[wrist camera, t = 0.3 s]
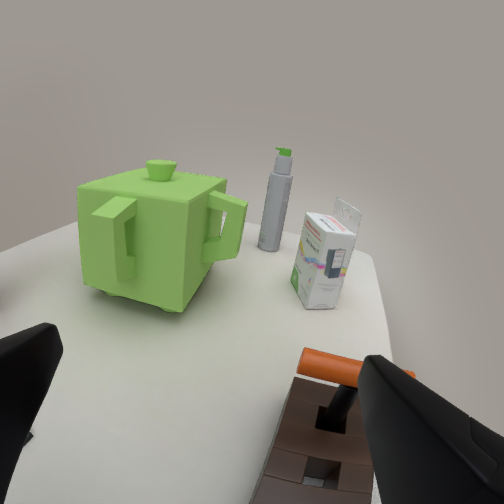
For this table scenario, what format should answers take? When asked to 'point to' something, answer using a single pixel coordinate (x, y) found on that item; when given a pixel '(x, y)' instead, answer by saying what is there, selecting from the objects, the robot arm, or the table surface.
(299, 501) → the tool rack
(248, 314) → the table surface
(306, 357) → the t handle
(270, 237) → the bottle
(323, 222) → the ink box
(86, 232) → the light green square pot
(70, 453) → the table surface
